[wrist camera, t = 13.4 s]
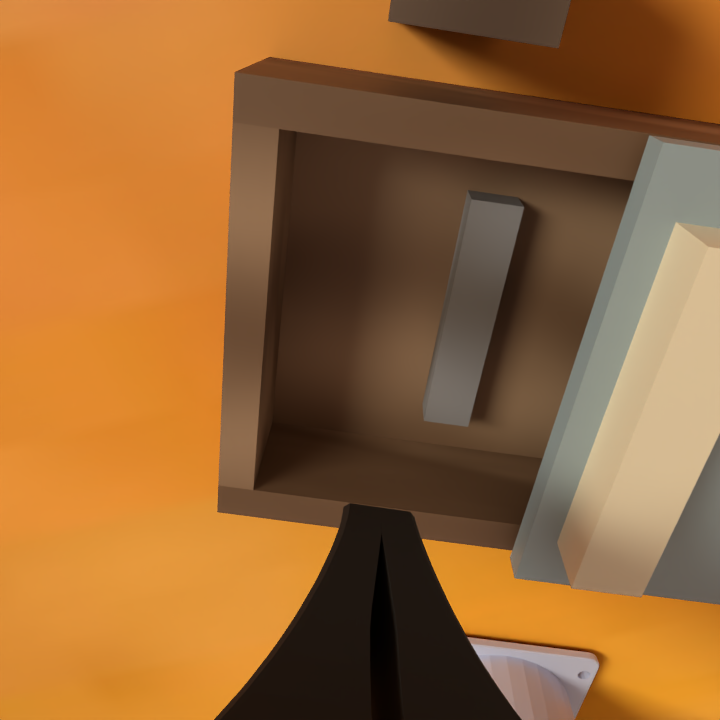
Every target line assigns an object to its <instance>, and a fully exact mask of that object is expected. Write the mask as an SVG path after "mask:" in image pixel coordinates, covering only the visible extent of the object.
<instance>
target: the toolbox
mask: <svg viewBox="0 0 720 720" xmlns="http://www.w3.org/2000/svg"><path fill="white" fill-rule="evenodd" d="M649 135H651V136H657V137H664V138H671V139H678V140H684V141H691V142H698V143H705V144H711V145H718V146H720V124H715V123H708V122H701V121H694V120H688V119H681V118H674V117H668V116H661V115H654V114H648V113H641V112H634V111H627V110H621V109H614V108H607V107H601V106H594V105H587V104H581V103H574V102H567V101H560V100H554V99H547V98H540V97H534V96H527V95H520V94H514V93H507V92H500V91H493V90H487V89H480V88H473V87H467V86H460V85H453V84H447V83H440V82H433V81H426V80H420V79H413V78H406V77H400V76H393V75H386V74H380V73H373V72H366V71H359V70H353V69H346V68H339V67H333V66H326V65H319V64H313V63H306V62H299V61H292V60H286V59H279V58H272V57H269V58H266V59H264V60H262V61H259V62H257V63H255V64H252V65H250V66H248V67H245V68H243V69H241V70H238V71H236V72H235V81H234V106H233V131H232V157H231V182H230V207H229V233H228V258H227V283H226V309H225V334H224V359H223V384H222V410H221V435H220V460H219V486H218V511H217V512H220V513H228V514H236V515H244V516H251V517H259V518H267V519H274V520H282V521H290V522H298V523H305V524H313V525H321V526H328V527H336V528H339V527H340V523H341V518H342V513H343V507H344V506H346V505H347V504H349V503H353V504H360V505H367V506H374V507H381V508H388V509H395V510H403V511H410V512H411V513H412V514H413V516H414V517H415V521H416V524H417V527H418V530H419V533H420V536H421V539H429V540H436V541H444V542H452V543H459V544H467V545H475V546H482V547H490V548H498V549H506V550H513V547H514V544H515V541H516V538H517V535H518V532H519V529H520V526H521V523H522V520H523V517H524V514H525V511H526V508H527V505H528V502H529V499H530V496H531V493H532V490H533V487H534V484H535V481H536V477H537V474H538V471H539V468H540V465H541V462H542V459H543V456H544V453H545V450H546V447H547V444H548V441H549V438H550V435H551V432H552V429H553V426H554V423H555V420H556V417H557V414H558V411H559V408H560V405H561V402H562V399H563V396H564V393H565V390H566V387H567V384H568V380H569V377H570V374H571V371H572V368H573V365H574V362H575V359H576V356H577V353H578V350H579V347H580V344H581V341H582V338H583V335H584V332H585V329H586V326H587V323H588V320H589V317H590V314H591V311H592V308H593V305H594V302H595V299H596V296H597V293H598V290H599V287H600V284H601V280H602V277H603V274H604V271H605V268H606V265H607V262H608V259H609V256H610V253H611V250H612V247H613V244H614V241H615V238H616V235H617V232H618V229H619V226H620V223H621V220H622V217H623V214H624V211H625V208H626V205H627V202H628V199H629V196H630V193H631V190H632V187H633V183H634V180H635V177H636V174H637V171H638V168H639V165H640V162H641V159H642V156H643V153H644V150H645V147H646V144H647V141H648V138H649Z"/></svg>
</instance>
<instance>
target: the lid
mask: <svg viewBox="0 0 720 720" xmlns="http://www.w3.org/2000/svg"><path fill="white" fill-rule="evenodd" d="M510 559H511V563H512V568H513V573H514V577H515V578H517V579H525V580H533V581H541V582H549V583H556V584H564V585H570V586H571V588H573V589H581V590H589V591H597V592H604V593H612V594H620V595H628V596H635V597H642V595H650V596H657V597H665V598H673V599H681V600H688V601H696V602H704V603H712V604H720V146H718V145H711V144H705V143H698V142H691V141H684V140H678V139H671V138H664V137H657V136H651V135H649V138H648V141H647V144H646V147H645V150H644V153H643V156H642V159H641V162H640V165H639V168H638V171H637V174H636V177H635V180H634V183H633V187H632V190H631V193H630V196H629V199H628V202H627V205H626V208H625V211H624V214H623V217H622V220H621V223H620V226H619V229H618V232H617V235H616V238H615V241H614V244H613V247H612V250H611V253H610V256H609V259H608V262H607V265H606V268H605V271H604V274H603V277H602V280H601V284H600V287H599V290H598V293H597V296H596V299H595V302H594V305H593V308H592V311H591V314H590V317H589V320H588V323H587V326H586V329H585V332H584V335H583V338H582V341H581V344H580V347H579V350H578V353H577V356H576V359H575V362H574V365H573V368H572V371H571V374H570V377H569V380H568V384H567V387H566V390H565V393H564V396H563V399H562V402H561V405H560V408H559V411H558V414H557V417H556V420H555V423H554V426H553V429H552V432H551V435H550V438H549V441H548V444H547V447H546V450H545V453H544V456H543V459H542V462H541V465H540V468H539V471H538V474H537V477H536V481H535V484H534V487H533V490H532V493H531V496H530V499H529V502H528V505H527V508H526V511H525V514H524V517H523V520H522V523H521V526H520V529H519V532H518V535H517V538H516V541H515V544H514V547H513V550H512V553H511V556H510Z"/></svg>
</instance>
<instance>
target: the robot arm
mask: <svg viewBox="0 0 720 720" xmlns="http://www.w3.org/2000/svg"><path fill="white" fill-rule="evenodd" d="M598 669H599V662H598V659H597V657H596V655H594V654H593V653H589V652H582V651H574V650H566V649H558V648H550V647H543V646H535V645H527V644H519V643H511V642H503V641H495V640H487V639H479V638H471V637H467V636H466V634H465V632H464V631H463V629H462V627H461V625H460V623H459V621H458V620H457V618H456V616H455V614H454V612H453V610H452V608H451V606H450V604H449V602H448V600H447V598H446V596H445V593H444V591H443V589H442V587H441V585H440V583H439V581H438V579H437V576H436V574H435V572H434V569H433V567H432V565H431V562H430V560H429V557H428V555H427V552H426V550H425V547H424V545H423V542H422V539H421V536H420V533H419V530H418V527H417V524H416V521H415V517H414V516H413V514H412V513H411V512H410V511H403V510H395V509H388V508H381V507H374V506H367V505H360V504H353V503H349V504H347V505H346V506H344V507H343V513H342V518H341V523H340V527H339V530H338V533H337V536H336V538H335V541H334V543H333V546H332V548H331V551H330V553H329V555H328V557H327V559H326V561H325V563H324V565H323V567H322V569H321V572H320V574H319V576H318V578H317V580H316V581H315V583H314V585H313V587H312V588H311V590H310V592H309V594H308V595H307V597H306V599H305V601H304V602H303V604H302V606H301V607H300V609H299V611H298V612H297V614H296V616H295V617H294V619H293V620H292V622H291V623H290V625H289V626H288V628H287V629H286V631H285V632H284V634H283V635H282V637H281V638H280V640H279V641H278V642H277V644H276V645H275V647H274V648H273V650H272V651H271V652H270V654H269V655H268V656H267V657H266V659H265V660H264V661H263V663H262V664H261V665H260V667H259V668H258V669H257V671H256V672H255V673H254V674H253V676H252V677H251V678H250V679H249V681H248V682H247V683H246V684H245V685H244V687H243V688H242V689H241V690H240V691H239V693H238V694H237V695H236V696H235V697H234V698H233V699H232V700H231V701H230V703H229V704H228V705H227V706H226V707H225V708H224V709H223V710H222V711H221V713H220V714H219V715H218V716H217V717H216V718H215V719H214V720H575V718H576V716H577V714H578V711H579V709H580V707H581V705H582V703H583V701H584V699H585V696H586V694H587V692H588V690H589V688H590V686H591V684H592V682H593V679H594V677H595V675H596V673H597V671H598Z"/></svg>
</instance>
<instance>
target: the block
mask: <svg viewBox="0 0 720 720" xmlns="http://www.w3.org/2000/svg"><path fill="white" fill-rule="evenodd" d="M570 2H571V0H391V4H390V11H389V19H388V21H390V22H396V23H402V24H409V25H415V26H421V27H428V28H434V29H440V30H446V31H453V32H459V33H465V34H471V35H478V36H484V37H490V38H497V39H503V40H509V41H515V42H522V43H528V44H534V45H540V46H547V47H553V48H559V45H560V41H561V37H562V33H563V29H564V26H565V22H566V18H567V14H568V10H569V6H570Z"/></svg>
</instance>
